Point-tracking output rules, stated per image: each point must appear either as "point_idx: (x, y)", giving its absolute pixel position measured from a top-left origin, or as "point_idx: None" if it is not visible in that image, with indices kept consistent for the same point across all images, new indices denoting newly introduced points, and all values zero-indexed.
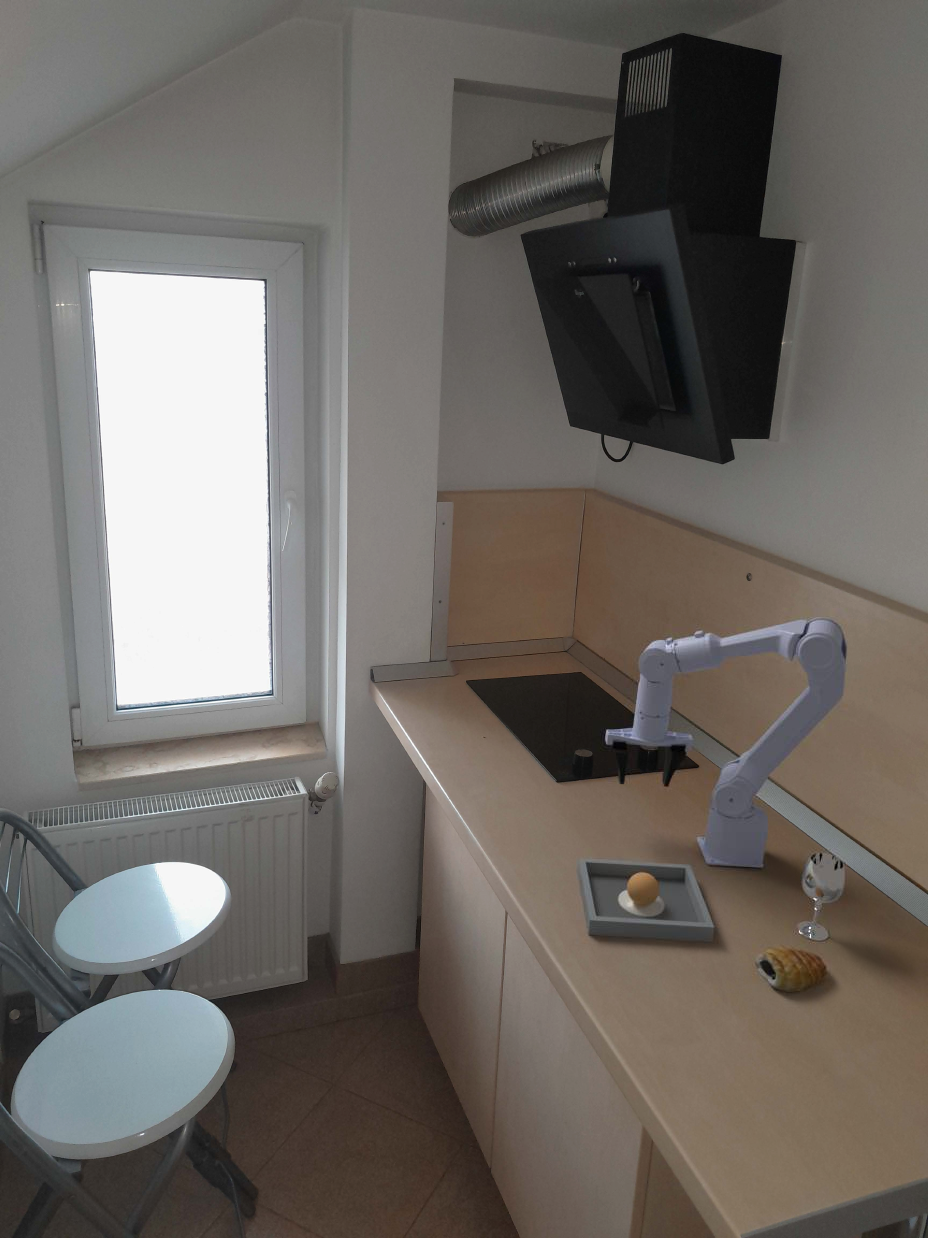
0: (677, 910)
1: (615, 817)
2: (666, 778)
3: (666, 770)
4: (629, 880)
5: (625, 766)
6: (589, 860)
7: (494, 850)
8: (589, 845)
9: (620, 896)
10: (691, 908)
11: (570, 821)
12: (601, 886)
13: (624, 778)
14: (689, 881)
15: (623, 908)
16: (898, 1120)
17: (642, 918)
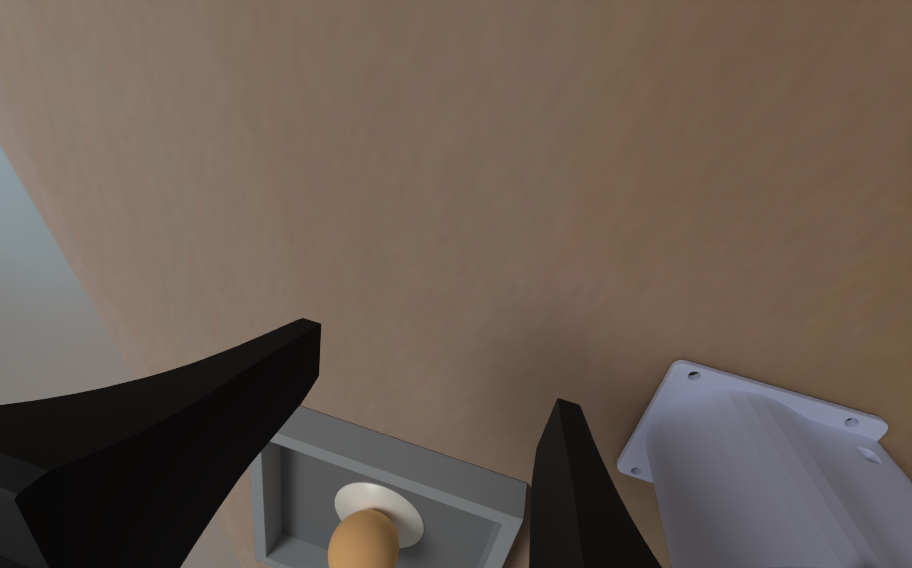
0: (442, 552)
1: (437, 160)
2: (531, 509)
3: (544, 521)
4: (328, 548)
5: (227, 491)
6: None
7: (88, 279)
8: (313, 307)
9: (341, 493)
10: (474, 557)
11: (271, 167)
12: (310, 458)
13: (291, 412)
14: (490, 550)
15: (339, 517)
16: None
17: None
